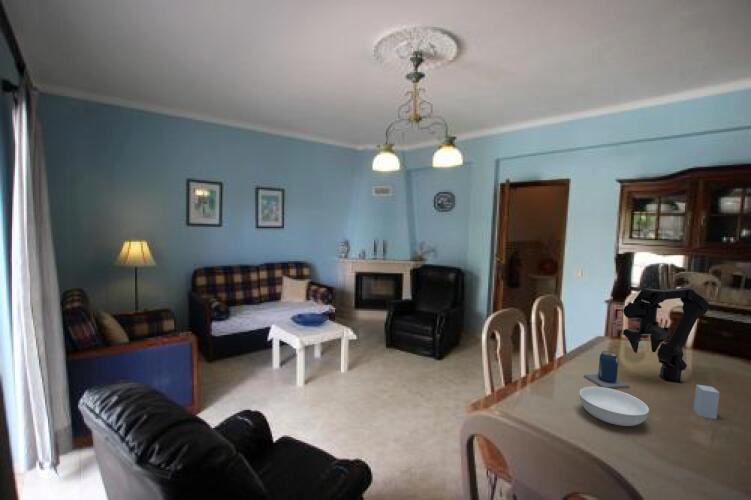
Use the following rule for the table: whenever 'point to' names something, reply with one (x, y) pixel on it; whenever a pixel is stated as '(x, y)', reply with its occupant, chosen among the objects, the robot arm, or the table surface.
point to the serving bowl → (613, 406)
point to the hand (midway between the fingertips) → (644, 352)
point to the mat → (597, 381)
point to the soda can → (608, 367)
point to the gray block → (706, 401)
